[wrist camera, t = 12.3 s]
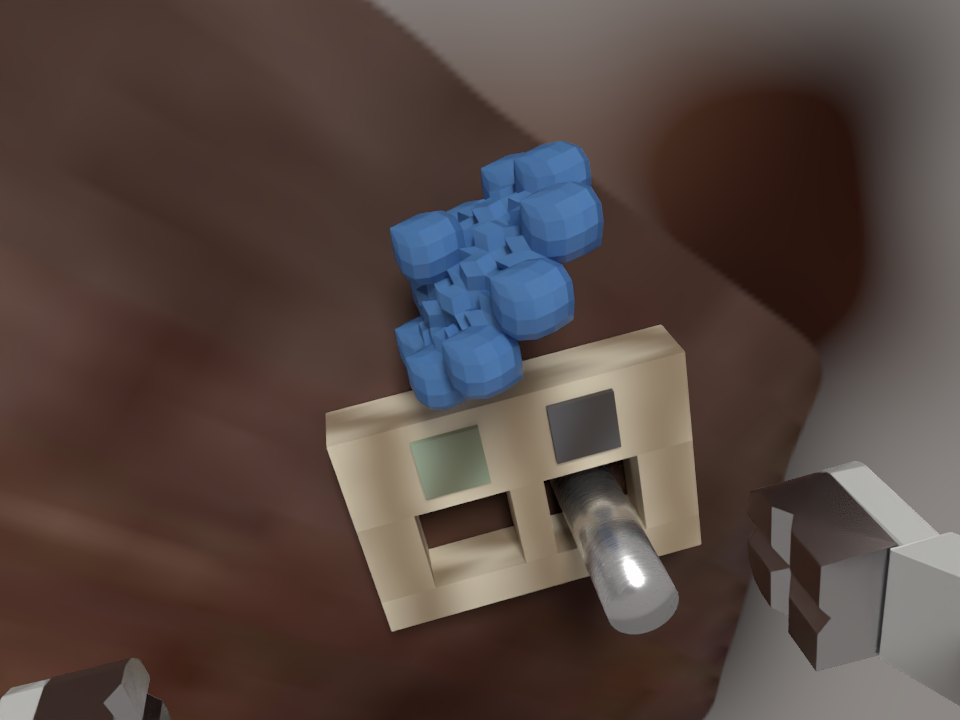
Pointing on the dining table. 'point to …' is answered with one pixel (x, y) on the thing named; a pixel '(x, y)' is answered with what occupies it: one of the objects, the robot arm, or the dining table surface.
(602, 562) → the plug
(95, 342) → the dining table surface
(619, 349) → the socket block
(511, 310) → the grapes
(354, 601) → the dining table surface
